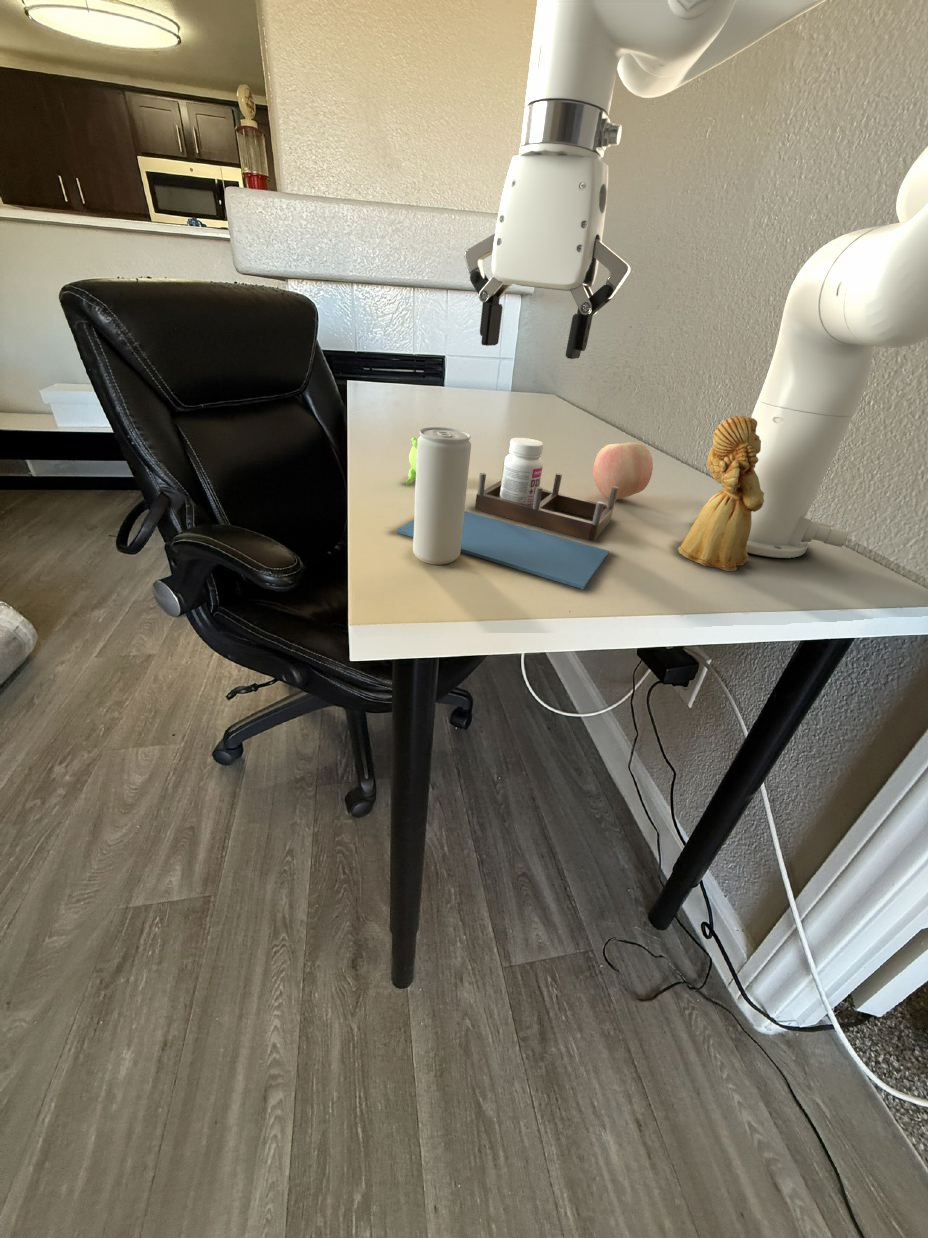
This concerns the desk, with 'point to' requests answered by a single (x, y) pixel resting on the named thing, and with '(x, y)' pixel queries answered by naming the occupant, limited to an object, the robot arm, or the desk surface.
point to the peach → (622, 469)
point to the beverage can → (440, 493)
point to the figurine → (728, 498)
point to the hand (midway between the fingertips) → (529, 351)
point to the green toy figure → (412, 461)
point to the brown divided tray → (549, 509)
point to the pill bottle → (522, 470)
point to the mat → (527, 550)
